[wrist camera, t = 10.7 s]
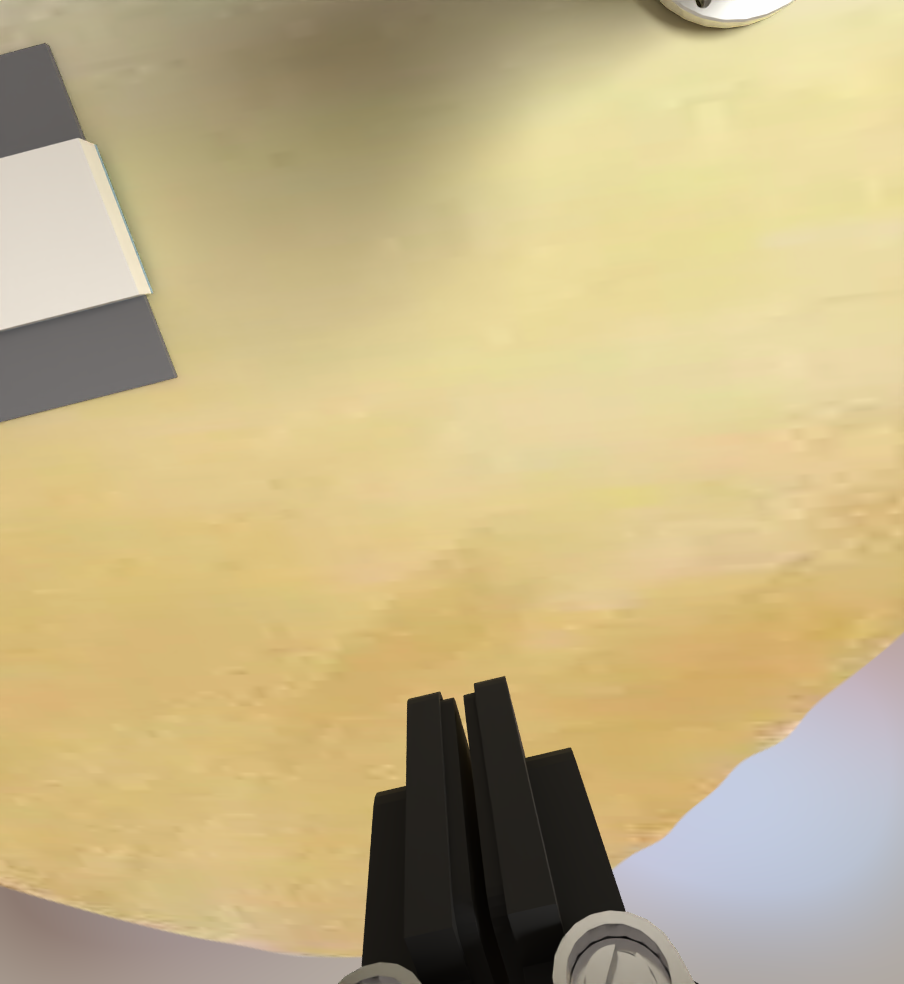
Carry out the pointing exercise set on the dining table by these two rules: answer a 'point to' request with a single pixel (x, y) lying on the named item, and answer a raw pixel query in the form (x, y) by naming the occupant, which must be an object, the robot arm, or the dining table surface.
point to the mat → (80, 336)
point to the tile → (62, 236)
